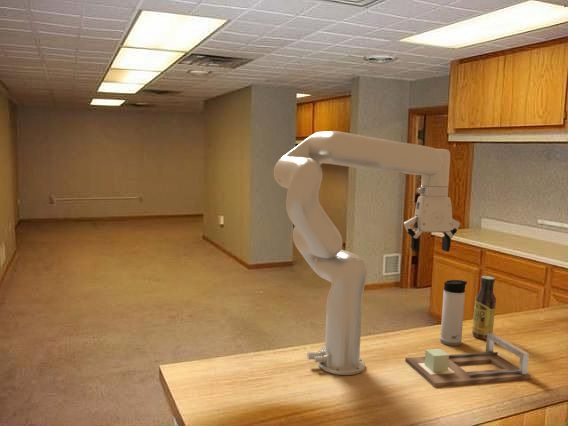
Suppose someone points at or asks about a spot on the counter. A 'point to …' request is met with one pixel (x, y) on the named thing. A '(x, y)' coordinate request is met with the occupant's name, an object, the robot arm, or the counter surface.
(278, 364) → the counter surface
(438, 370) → the block
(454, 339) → the travel mug
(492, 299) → the sauce bottle
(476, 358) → the board
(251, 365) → the counter surface
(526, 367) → the gate
